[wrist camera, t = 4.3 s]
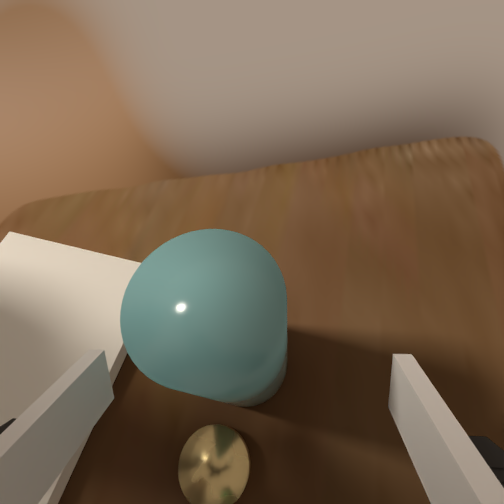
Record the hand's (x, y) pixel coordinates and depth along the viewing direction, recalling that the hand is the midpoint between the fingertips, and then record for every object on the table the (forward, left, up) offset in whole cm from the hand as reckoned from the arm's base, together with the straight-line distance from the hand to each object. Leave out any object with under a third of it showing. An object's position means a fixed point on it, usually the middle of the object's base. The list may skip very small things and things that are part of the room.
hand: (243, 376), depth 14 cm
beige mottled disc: (-1, -5, -9) cm, 10 cm away
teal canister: (-1, +2, -8) cm, 9 cm away
